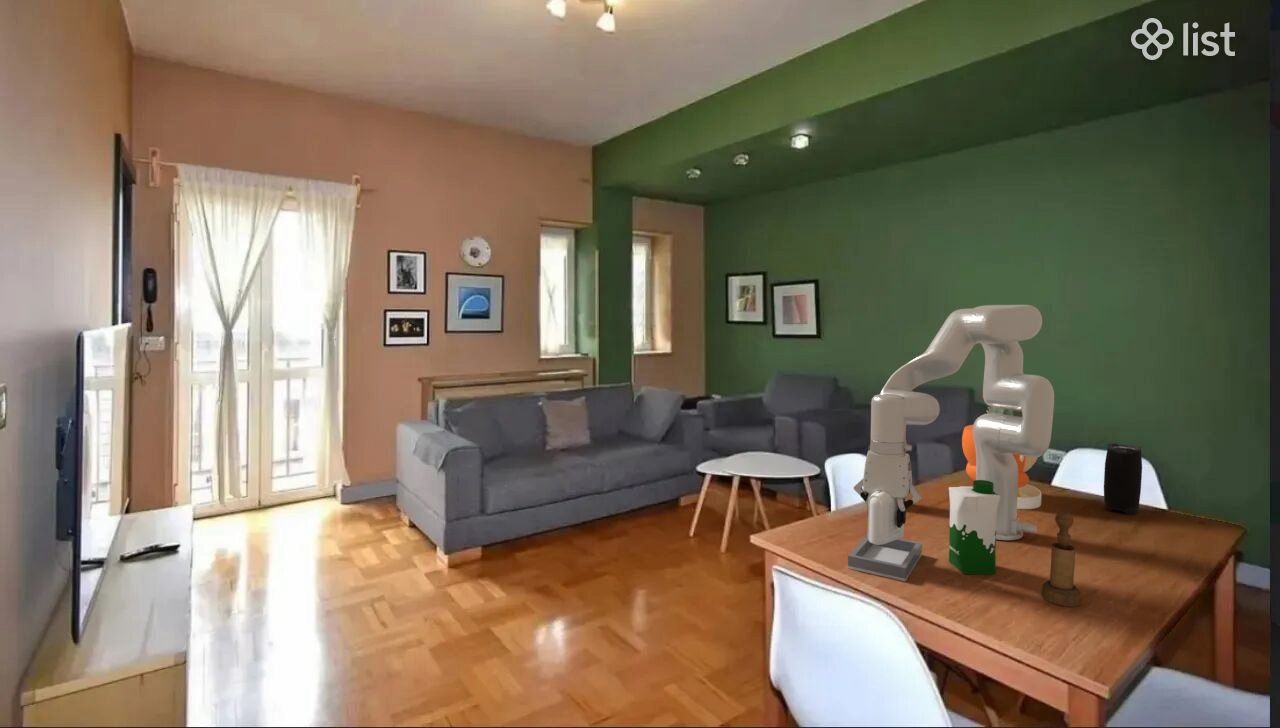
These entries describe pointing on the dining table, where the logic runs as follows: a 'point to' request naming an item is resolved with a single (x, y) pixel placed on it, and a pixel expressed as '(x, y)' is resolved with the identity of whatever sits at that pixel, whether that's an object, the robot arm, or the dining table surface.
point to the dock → (886, 558)
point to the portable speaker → (1123, 478)
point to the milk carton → (973, 528)
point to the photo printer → (883, 519)
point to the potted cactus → (1026, 493)
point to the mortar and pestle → (1062, 567)
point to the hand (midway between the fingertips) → (886, 522)
